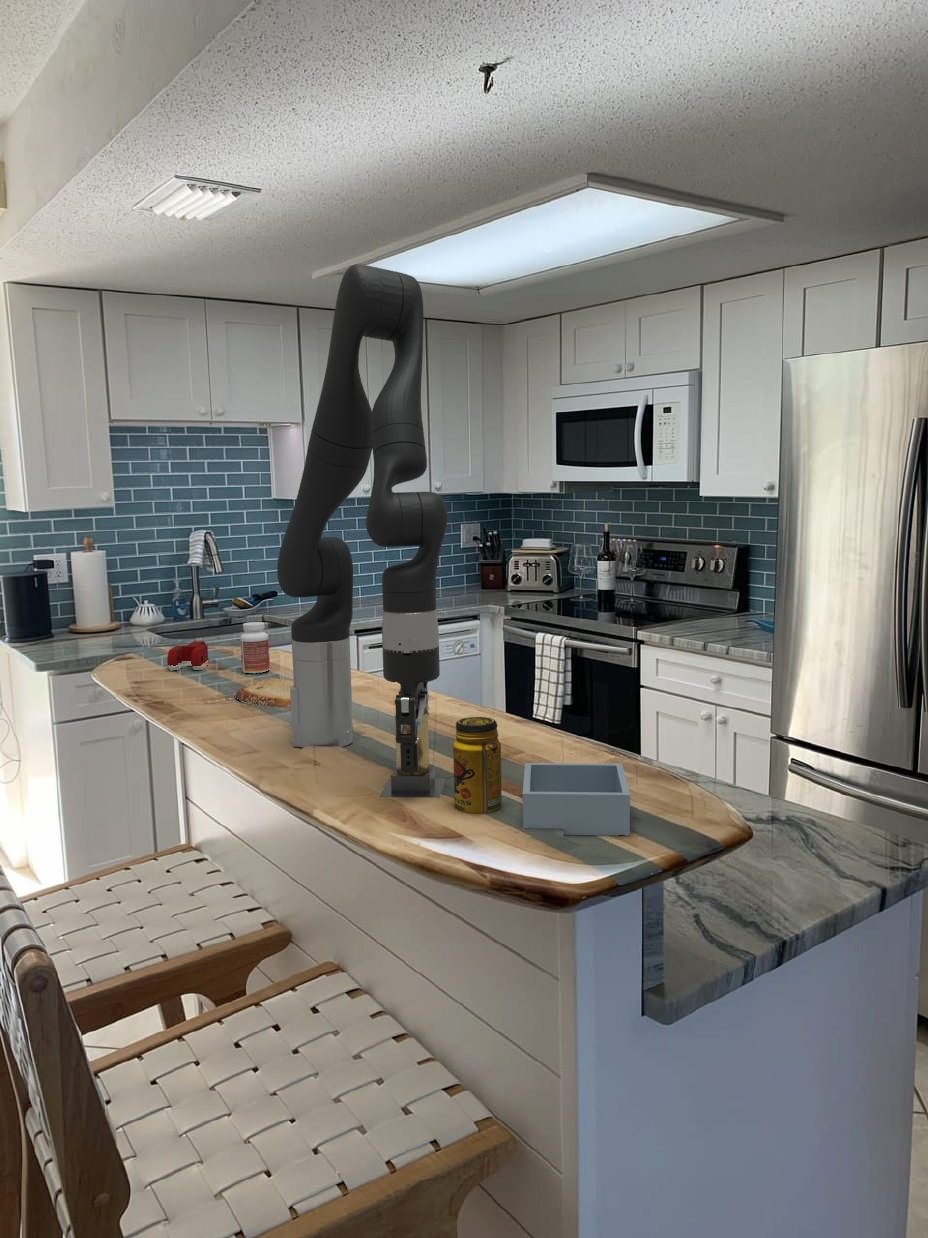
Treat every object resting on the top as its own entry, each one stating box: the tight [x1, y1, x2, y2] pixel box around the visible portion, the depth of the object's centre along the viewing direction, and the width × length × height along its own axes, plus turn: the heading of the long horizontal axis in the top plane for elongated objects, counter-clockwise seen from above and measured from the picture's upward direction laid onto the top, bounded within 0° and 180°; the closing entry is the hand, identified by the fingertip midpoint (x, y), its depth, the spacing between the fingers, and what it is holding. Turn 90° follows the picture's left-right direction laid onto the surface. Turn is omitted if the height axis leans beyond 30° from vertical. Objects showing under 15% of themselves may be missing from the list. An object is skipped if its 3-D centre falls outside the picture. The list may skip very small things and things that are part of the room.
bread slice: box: [234, 676, 294, 708], centre depth 191 cm, size 18×18×4 cm
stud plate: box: [378, 777, 447, 799], centre depth 132 cm, size 8×8×1 cm
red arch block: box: [166, 640, 209, 666], centre depth 227 cm, size 16×7×5 cm, turn 1°
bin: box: [522, 762, 631, 837], centre depth 121 cm, size 13×13×5 cm
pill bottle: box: [239, 621, 271, 673], centre depth 217 cm, size 6×6×11 cm
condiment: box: [452, 716, 503, 815], centre depth 124 cm, size 7×8×12 cm
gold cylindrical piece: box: [390, 713, 436, 794], centre depth 131 cm, size 5×5×10 cm
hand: (414, 762), depth 131 cm, fingers open, 8 cm apart
